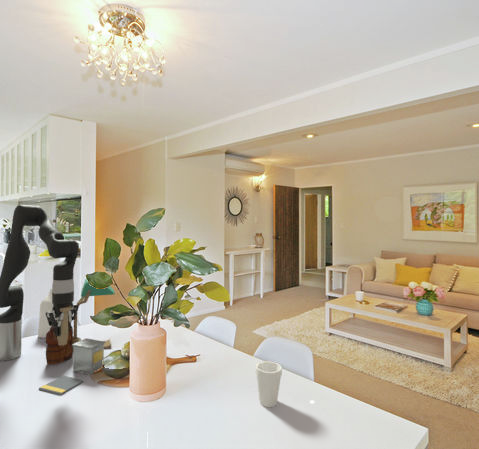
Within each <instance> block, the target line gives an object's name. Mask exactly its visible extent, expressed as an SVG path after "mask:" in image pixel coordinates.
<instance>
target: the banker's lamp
mask: <svg viewBox="0 0 479 449" xmlns="http://www.w3.org/2000/svg"><path fill="white" fill-rule="evenodd" d="M110 295H111V296H112V295H116V292H115V290H114V288H113V287H112V286H109V287H107V288H105V289H96V288H94V287H92V286H90V285H89V283H88V281H87V278H85V280H84V283H83V286H82V288H81V291H80V298H79V300H78V301H77V303H75V305H79V306H81V305H83V304H86V303H87V302H88V301H89V298H90V297H99V296H110ZM81 340H82V338H80V337H78V314H77V315H76V319H75V320H73V344H74V343H76V342H79V341H81ZM103 341H104V342H105V343H104V350H106V349H112V341H111V338H109V339H107V340H103ZM71 346H72V345H71ZM72 354H73V346H72Z"/></svg>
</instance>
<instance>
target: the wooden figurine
mask: <svg viewBox="0 0 479 449" xmlns="http://www.w3.org/2000/svg"><path fill="white" fill-rule="evenodd" d="M57 323H58V322H57ZM73 334H74V327H73V325H71V330H70V332H68V339H67V344H66V345H60V346H59V345H58V339H57V336H55V335H54V326H51V327H50V331H48V332H47V334H46V338H45V344H46V347H45V359H46V364H47V365H49V366H50V365H60V364H62V363H65V362H66V361H68V360H69V359H70V358H73V353H72V346H71V345H72V344H73Z"/></svg>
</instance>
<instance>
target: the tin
mask: <svg viewBox="0 0 479 449" xmlns="http://www.w3.org/2000/svg"><path fill="white" fill-rule="evenodd" d="M104 341H105V340H99V339H91V338H83V339H81V341H79V342H76V343H74V344H72V346H73V353H72V355H73V357H72V362H73V363H72V364H73V365H72V371H73V372H76V373H81V374H85V375H88V376H89V375H91V376H92V375H94V374H95V373H94V372H95V371H97V370H98V369H100V368H101V367H102V360H103V359H104V360H105V358H104V357H105V355H104V354H105V352H104V351H105V349H104V343H105V342H104ZM97 372H98V371H97ZM93 373H94V374H93Z"/></svg>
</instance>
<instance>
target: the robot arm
mask: <svg viewBox="0 0 479 449" xmlns="http://www.w3.org/2000/svg"><path fill="white" fill-rule="evenodd" d="M12 215H13V216H12V220H11V228H10V235H9V240H8V243H7V247H6V251H5V254H4V259H3V264H2V268H1V272H0V309H2V308H8V309H7V310H5V311H3V313H0V361H4V362H5V361H11V360H15V359H17V358H19V357H21V356H22V332H23V331H22V330H23V329H22V328H23V327H22V323H23V321H22V316H23V313H24V300H25V299H24V296H25V295H24V289H23V288H22V286H21V285H12V283H13V282H14V280H15V279H16V278H17V277H19V275H21V274H22V273H23V271H24V270H25V269H26V268H27V267H28V265H29V260H30V256H31V250H30V247H29V245H28V243H27V242H26V239H25V238H24V235H23V230H24V227H39V228H38V236H39V239H40V240H41V241H42V242H43V243H44V244H45V246H46V248H47V252H48V254H49V256H50V257H51V258H53V259H64V260H63V261H62V262H61V263H57V264H55V265H54V266H53V268H52V272H53V274H52V287H51V289H52V303H53V308H52V310H51V311H50V312H46V317H47V320H48V323H49V326H54V335H55V336H60V335H61V326H60V325H61V321H62V320H63V316H64V312H60V308H63V307H66V306H71V310H70V311H68V332H70V330H71V326H72V322H74V320H75V319H76V315H77V316H78V310H79V307H80V305H76V303H75V304H74V301H75V297H74V296H75V282H74V281H75V280H74V268H75V264H76V262H77V261H76V260H77V258H78V255H79V251H80V247H79V244H78V242H77V241H76V240H74V239H65V236H64V234H63V233H62V232H61V231H60V230H59V229H57V227H55V225H54V224H53V222H52V220H51V219H50V217H49V215H48V213H47V212H46V210H45V209H44V208H43V207H41V206H40V205H33V204H32V205H30V204H29V205H28V204H18V205H16V207H15V208H14V211H13V213H12ZM11 285H12V286H11ZM58 317H60V318H58ZM57 321H58V323H57Z"/></svg>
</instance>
